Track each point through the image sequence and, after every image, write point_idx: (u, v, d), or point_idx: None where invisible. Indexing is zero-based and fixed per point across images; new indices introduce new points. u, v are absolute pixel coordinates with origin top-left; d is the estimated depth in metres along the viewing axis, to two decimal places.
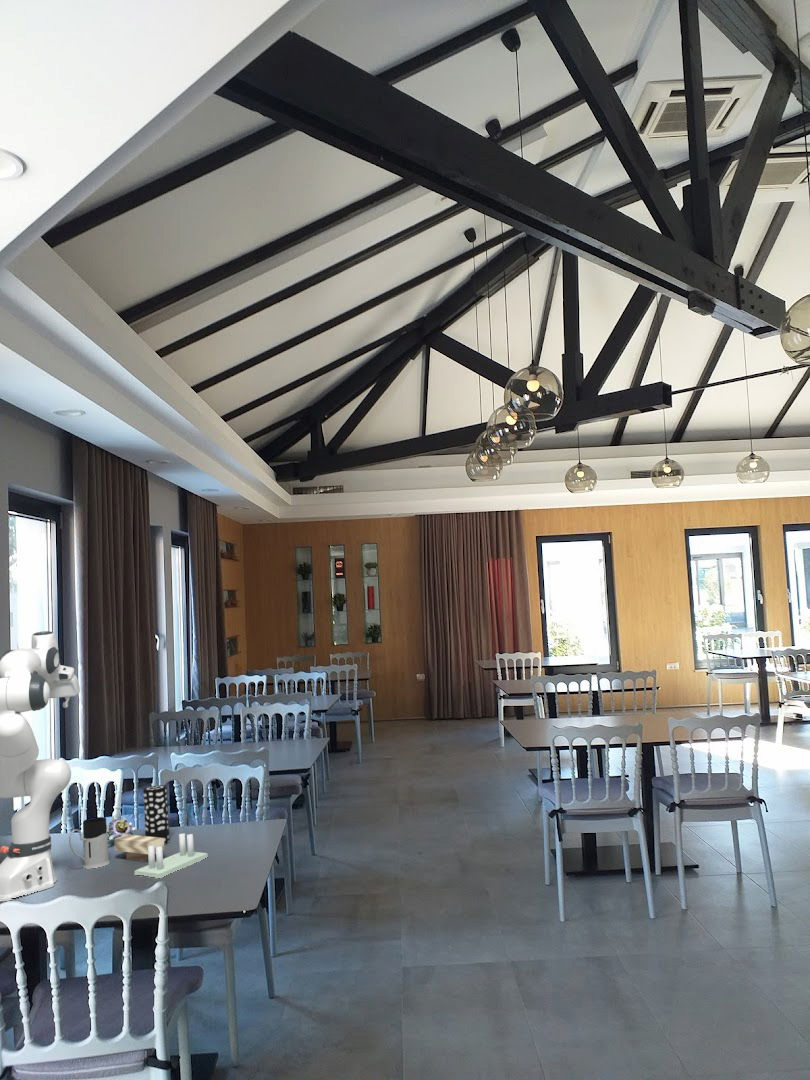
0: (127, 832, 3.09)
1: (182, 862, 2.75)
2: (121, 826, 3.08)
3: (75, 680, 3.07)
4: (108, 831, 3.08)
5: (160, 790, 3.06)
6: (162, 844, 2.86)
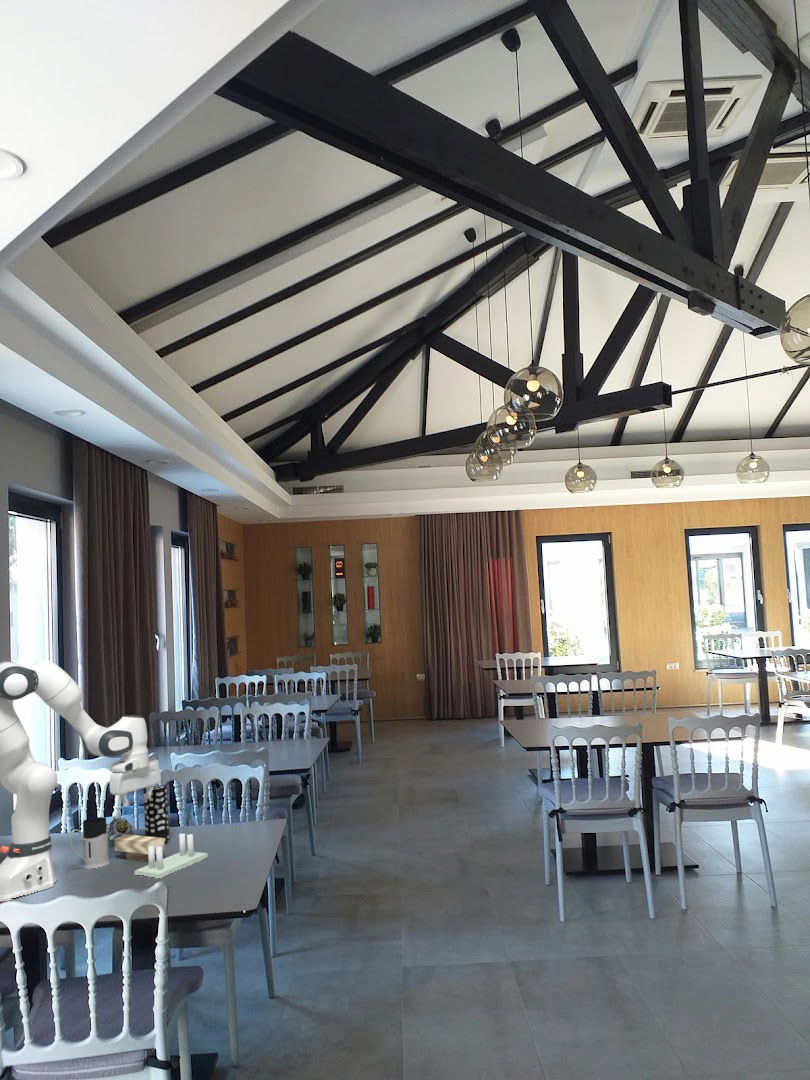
0: (127, 832, 3.10)
1: (182, 862, 2.75)
2: (121, 826, 3.08)
3: (112, 777, 2.82)
4: (108, 831, 3.08)
5: (160, 790, 3.06)
6: (162, 844, 2.86)
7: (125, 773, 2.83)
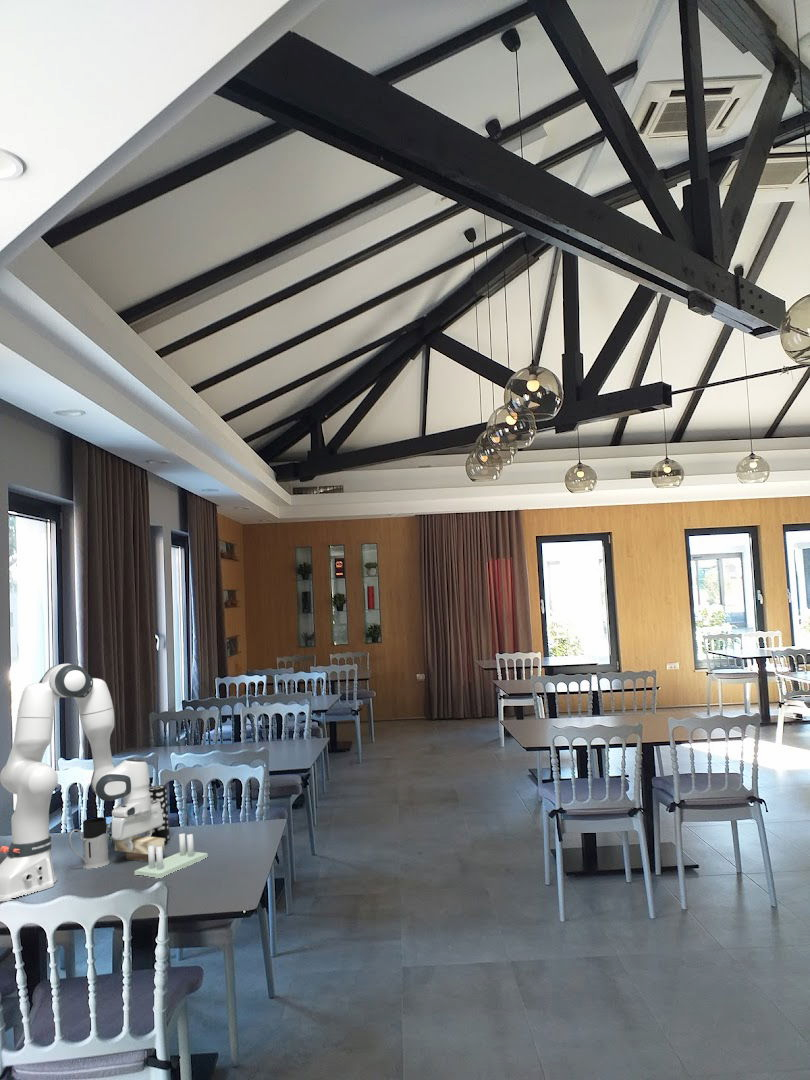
0: None
1: (182, 862, 2.75)
2: None
3: (114, 822, 2.81)
4: (109, 831, 3.08)
5: (160, 790, 3.06)
6: (162, 844, 2.86)
7: (127, 818, 2.82)
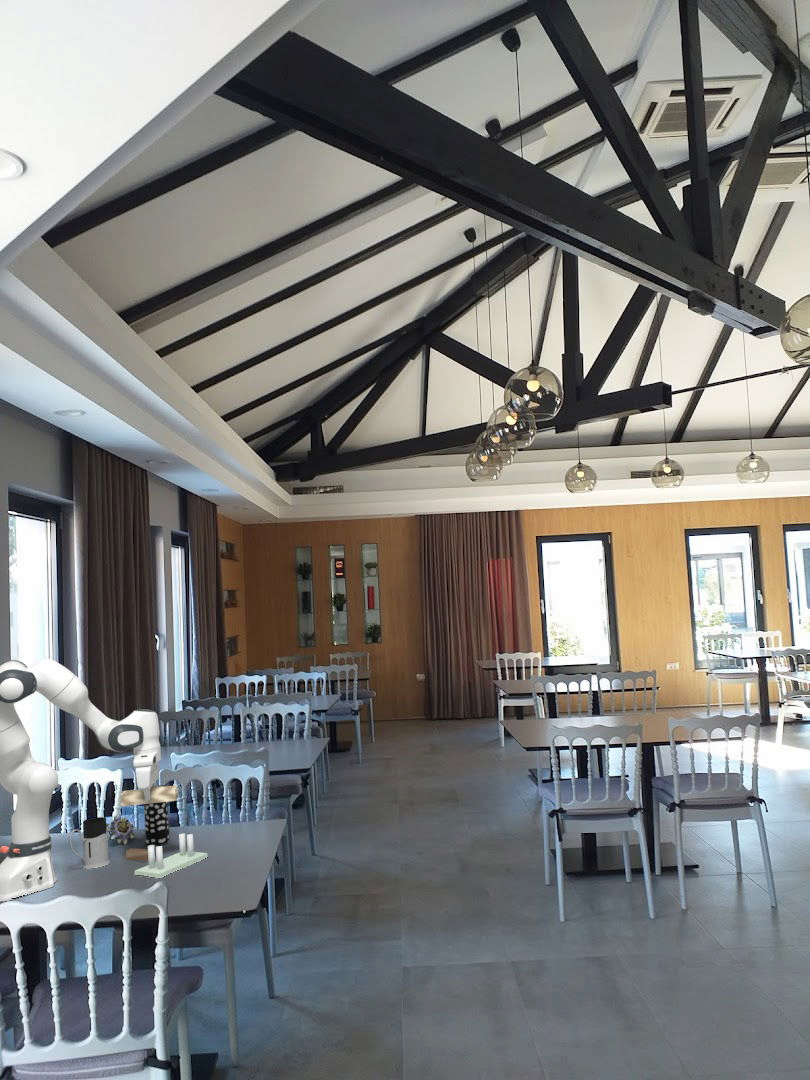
0: (129, 832, 3.10)
1: (182, 862, 2.75)
2: (123, 826, 3.08)
3: (140, 772, 2.76)
4: (110, 831, 3.08)
5: None
6: (177, 791, 2.88)
7: (152, 766, 2.79)
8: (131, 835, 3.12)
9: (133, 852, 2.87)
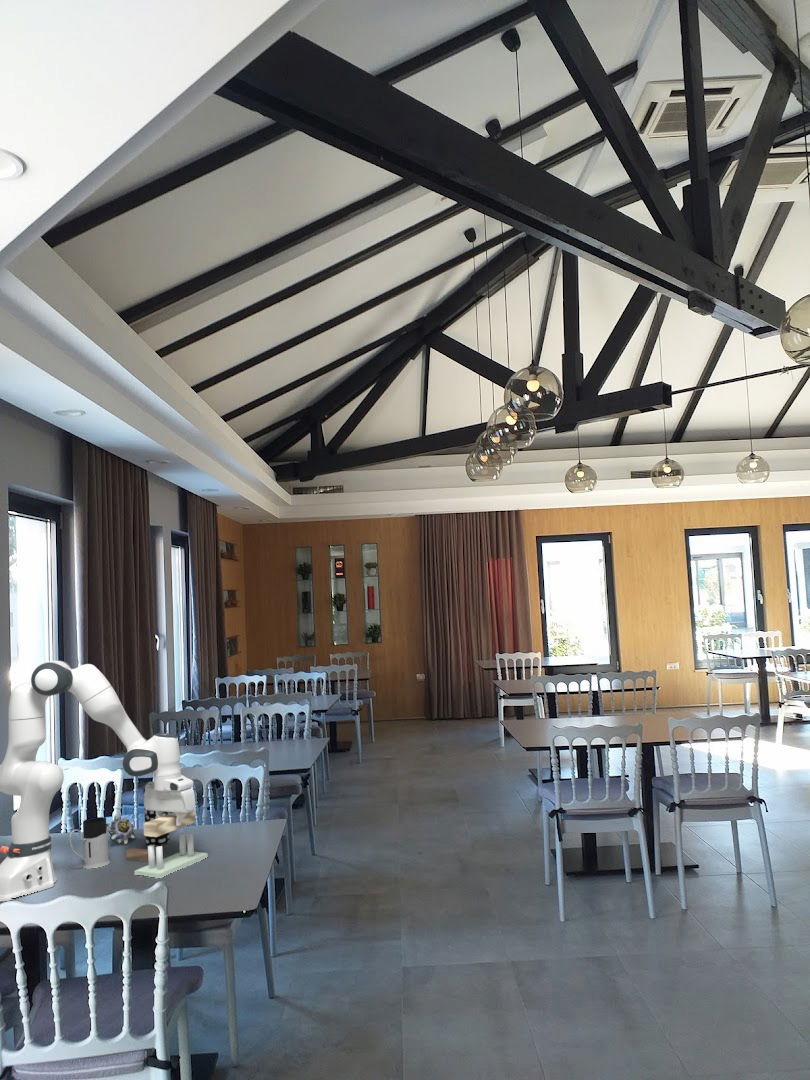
0: (129, 831, 3.10)
1: (182, 862, 2.75)
2: (123, 825, 3.08)
3: (187, 794, 2.73)
4: (110, 831, 3.08)
5: None
6: None
7: None
8: (131, 835, 3.12)
9: (133, 852, 2.87)
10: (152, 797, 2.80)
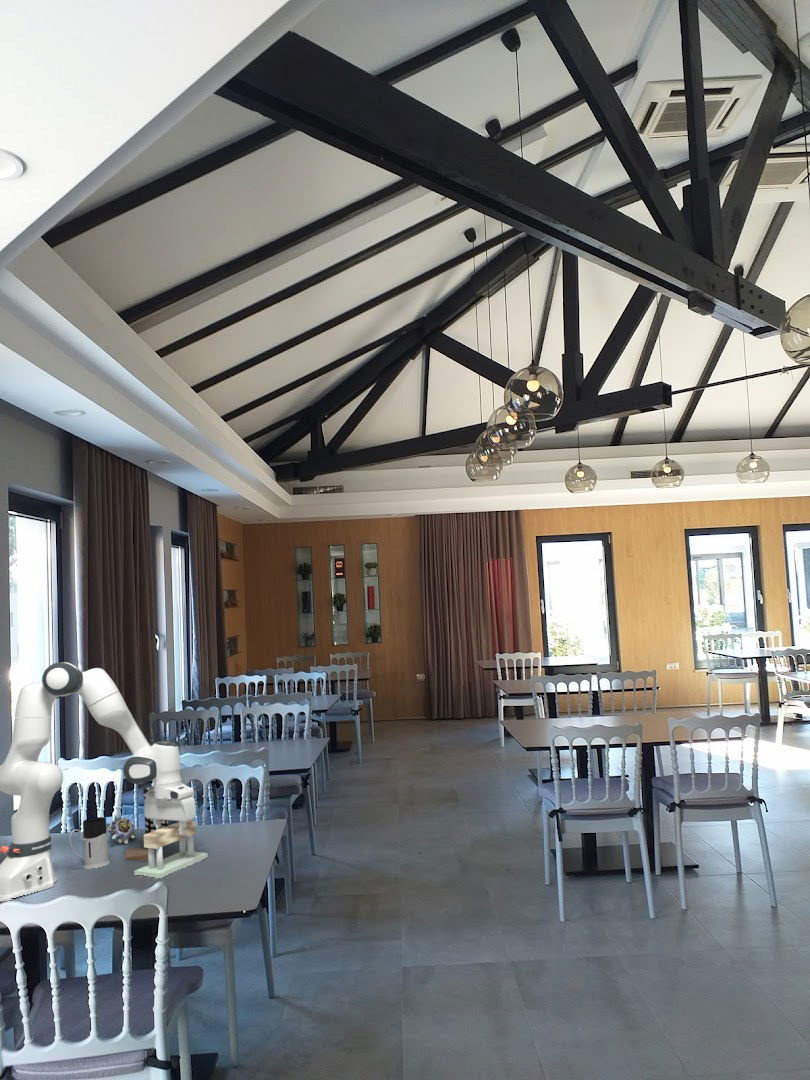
0: (129, 831, 3.10)
1: (182, 862, 2.75)
2: (124, 825, 3.09)
3: (187, 802, 2.73)
4: (111, 830, 3.08)
5: None
6: None
7: None
8: (132, 835, 3.12)
9: (133, 852, 2.87)
10: (152, 805, 2.80)
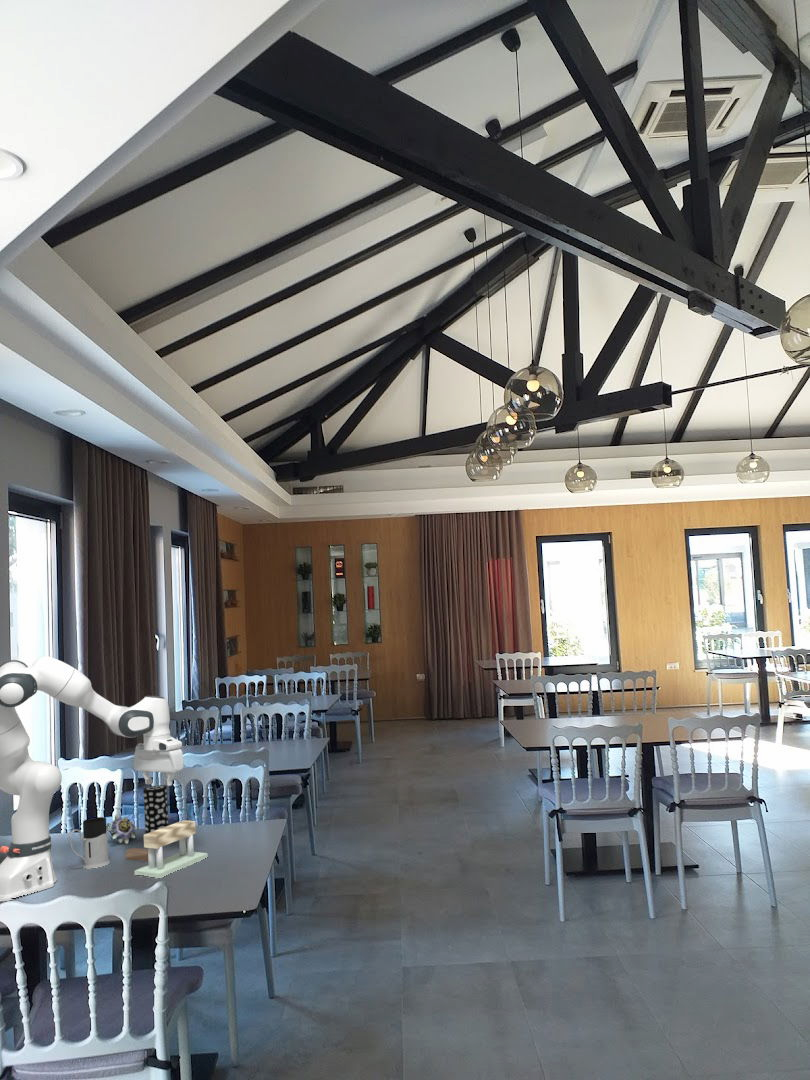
0: (130, 831, 3.11)
1: (182, 862, 2.75)
2: (124, 825, 3.09)
3: (175, 754, 2.79)
4: (111, 830, 3.09)
5: (160, 790, 3.06)
6: None
7: None
8: (132, 835, 3.12)
9: (133, 852, 2.87)
10: (142, 757, 2.86)
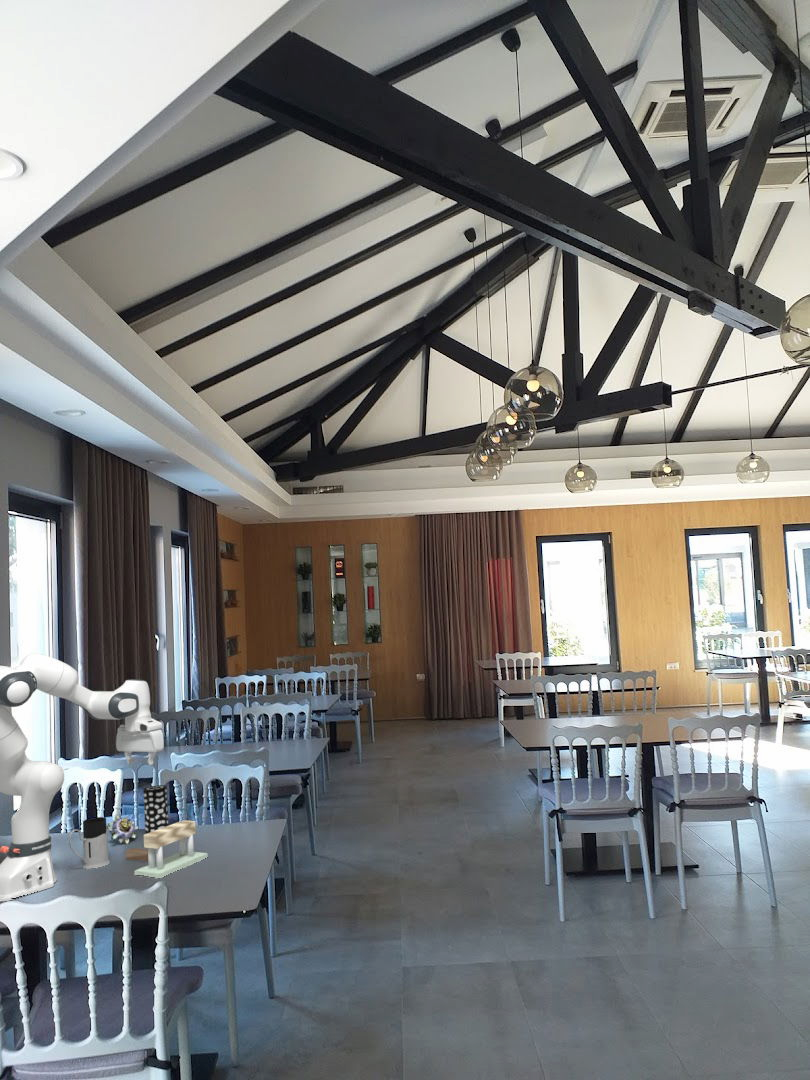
0: (130, 831, 3.11)
1: (182, 862, 2.75)
2: (125, 825, 3.09)
3: (156, 734, 2.92)
4: (111, 830, 3.09)
5: (160, 790, 3.06)
6: None
7: None
8: (133, 834, 3.12)
9: (133, 852, 2.87)
10: (124, 738, 2.98)
